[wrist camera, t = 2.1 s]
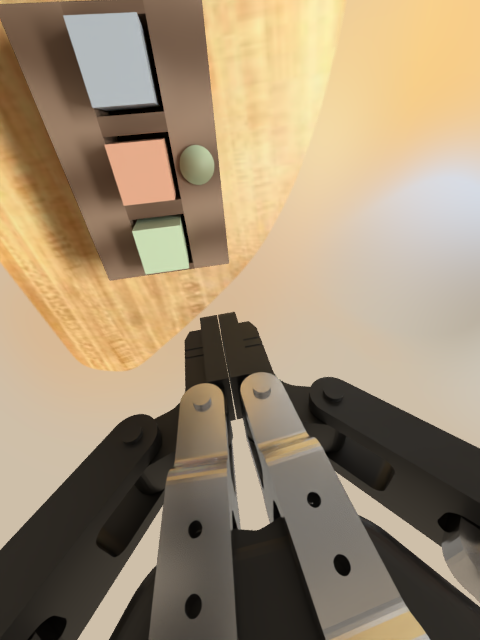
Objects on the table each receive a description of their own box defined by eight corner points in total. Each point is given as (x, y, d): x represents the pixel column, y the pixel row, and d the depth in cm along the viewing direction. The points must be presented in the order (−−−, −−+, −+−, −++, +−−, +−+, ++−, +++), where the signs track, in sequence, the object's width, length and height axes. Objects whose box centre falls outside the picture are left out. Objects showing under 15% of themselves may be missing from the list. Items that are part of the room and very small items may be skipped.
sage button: (138, 216, 25) (131, 231, 22) (180, 211, 26) (180, 225, 22) (150, 255, 28) (145, 274, 24) (188, 250, 28) (189, 268, 25)
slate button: (86, 37, 18) (63, 15, 15) (145, 34, 19) (136, 12, 15) (107, 110, 21) (92, 107, 17) (159, 106, 21) (155, 102, 17)
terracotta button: (116, 141, 22) (104, 144, 18) (165, 137, 22) (162, 139, 19) (132, 194, 24) (123, 205, 21) (175, 189, 25) (175, 199, 21)
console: (32, 29, 19) (-9, 2, 15) (197, 21, 20) (201, -6, 16) (118, 260, 30) (108, 282, 26) (222, 245, 31) (229, 264, 27)
